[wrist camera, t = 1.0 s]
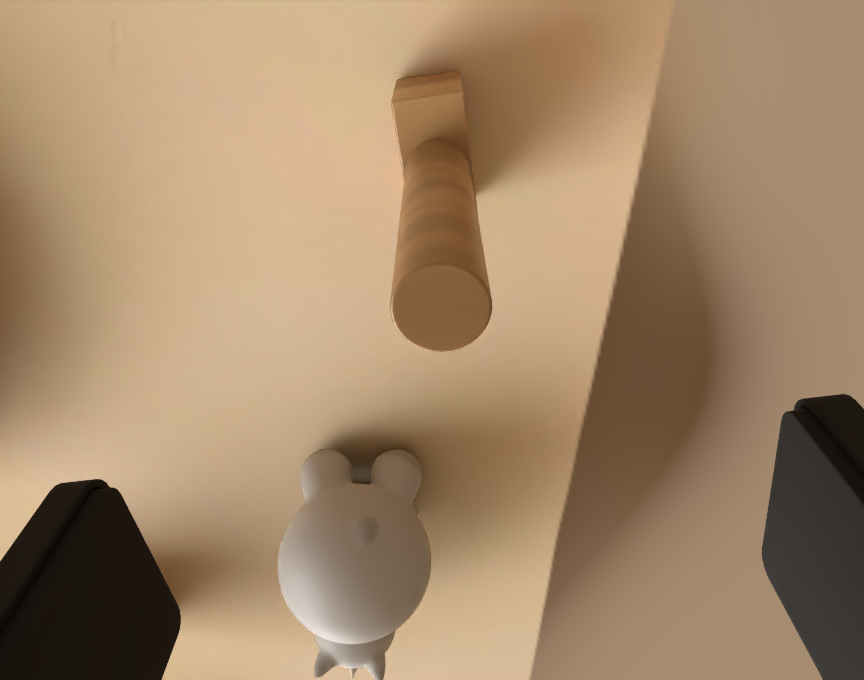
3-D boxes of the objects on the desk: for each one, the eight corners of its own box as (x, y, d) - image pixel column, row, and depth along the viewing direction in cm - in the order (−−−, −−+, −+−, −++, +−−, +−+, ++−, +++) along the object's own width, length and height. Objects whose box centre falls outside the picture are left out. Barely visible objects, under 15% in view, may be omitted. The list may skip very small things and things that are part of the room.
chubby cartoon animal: (297, 585, 40) (268, 730, 33) (296, 429, 34) (259, 564, 26) (417, 593, 40) (414, 738, 33) (437, 440, 34) (439, 576, 27)
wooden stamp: (396, 79, 25) (363, 206, 13) (459, 69, 25) (485, 190, 13) (416, 205, 28) (405, 408, 16) (473, 197, 27) (506, 396, 15)
